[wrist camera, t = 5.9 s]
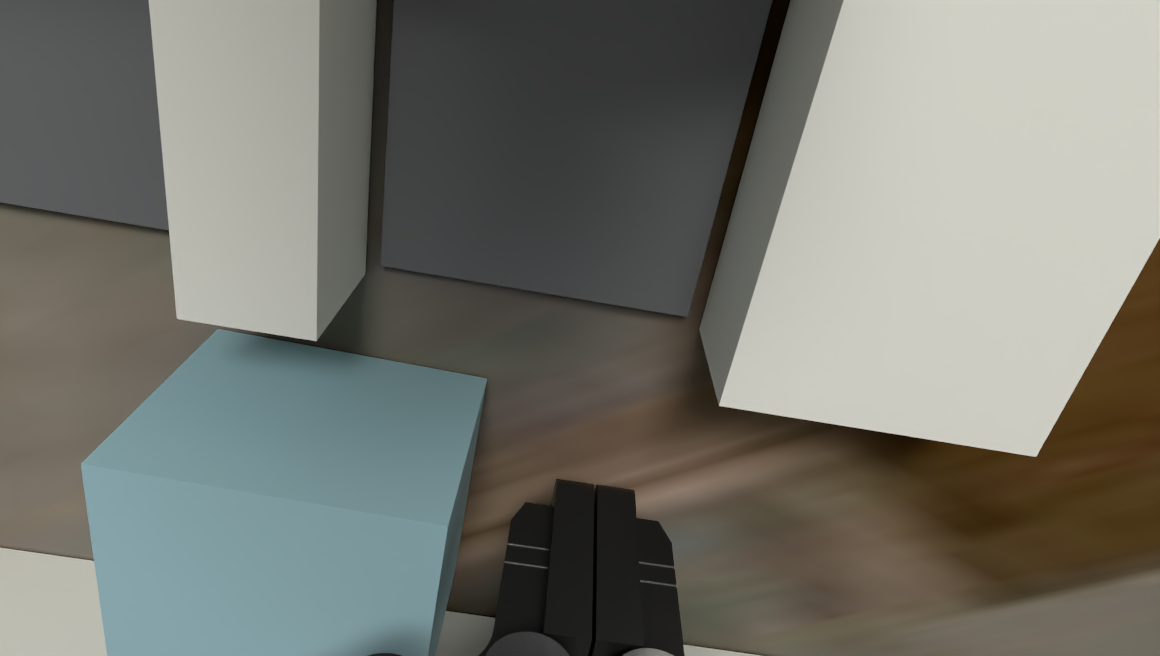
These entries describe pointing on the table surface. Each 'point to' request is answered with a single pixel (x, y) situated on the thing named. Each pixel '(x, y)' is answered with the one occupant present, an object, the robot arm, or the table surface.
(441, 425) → the push block
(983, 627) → the table surface
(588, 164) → the trap lane
